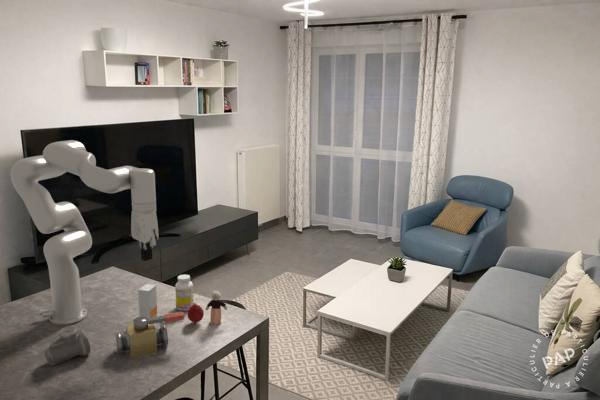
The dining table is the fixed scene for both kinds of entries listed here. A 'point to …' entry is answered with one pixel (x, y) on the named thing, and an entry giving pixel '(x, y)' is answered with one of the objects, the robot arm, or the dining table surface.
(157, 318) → the lever
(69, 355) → the pipe fitting
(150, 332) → the valve
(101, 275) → the dining table surface
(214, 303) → the grandmother figurine
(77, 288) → the robot arm
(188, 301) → the supplement bottle
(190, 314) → the onion
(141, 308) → the skincare box
